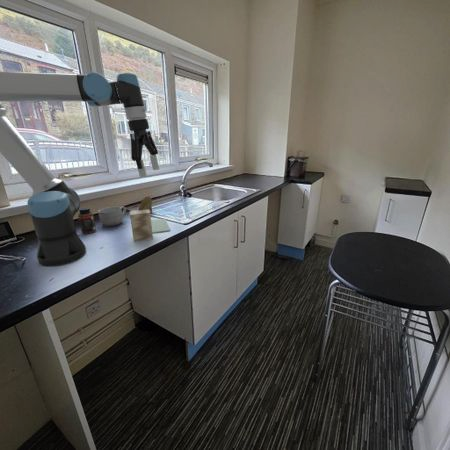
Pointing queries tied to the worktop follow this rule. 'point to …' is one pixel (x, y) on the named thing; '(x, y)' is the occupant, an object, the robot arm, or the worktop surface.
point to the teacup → (111, 215)
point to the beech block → (141, 225)
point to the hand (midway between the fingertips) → (150, 173)
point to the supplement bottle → (86, 221)
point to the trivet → (159, 226)
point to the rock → (146, 204)
